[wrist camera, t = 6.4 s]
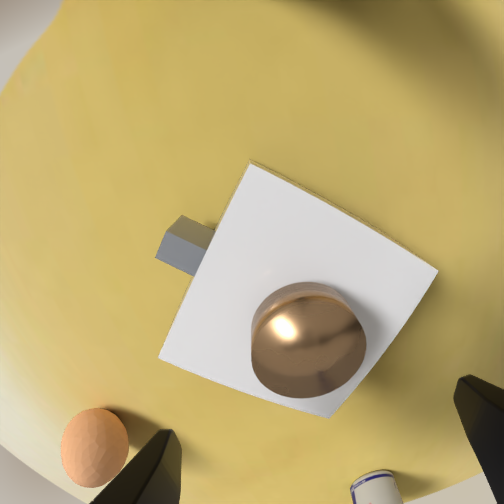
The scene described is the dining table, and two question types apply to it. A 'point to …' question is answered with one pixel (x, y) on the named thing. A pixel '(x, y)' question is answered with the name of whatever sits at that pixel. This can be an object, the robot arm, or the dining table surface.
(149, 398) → the dining table surface
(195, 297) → the white box with hole
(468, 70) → the dining table surface
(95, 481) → the egg
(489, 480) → the robot arm
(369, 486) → the energy drink
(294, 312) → the plunger
